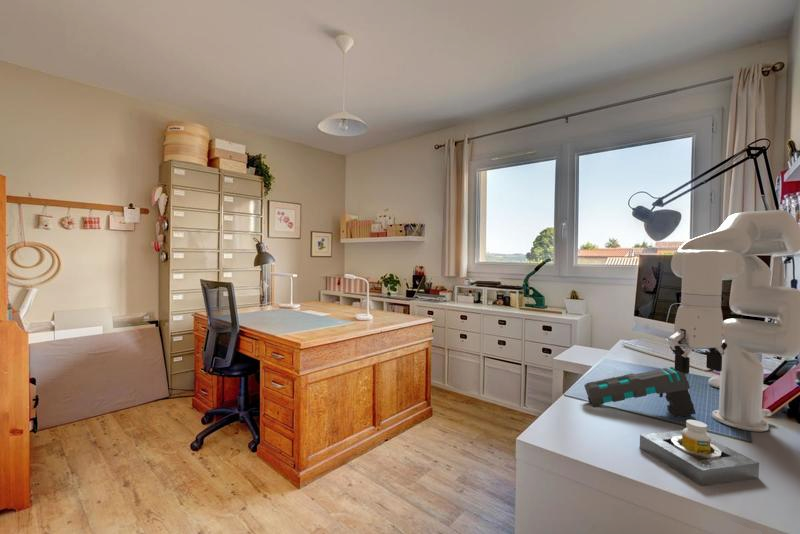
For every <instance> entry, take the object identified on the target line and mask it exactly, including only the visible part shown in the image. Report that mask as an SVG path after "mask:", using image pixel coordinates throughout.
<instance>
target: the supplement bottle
mask: <svg viewBox="0 0 800 534" xmlns="http://www.w3.org/2000/svg"><path fill="white" fill-rule="evenodd" d="M682 430H683V432H682V446H683V447H685V448H687V449H689V450H692V451H695V452H699V453H705V454H709V453H710V441H711V440H712V438H711V436H710V434H709V433H707V432H708V424H706V423H704V422H702V421H700V420H695V419H687V420H686V421H685V428H683V429H682Z"/></svg>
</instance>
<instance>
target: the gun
mask: <svg viewBox="0 0 800 534" xmlns="http://www.w3.org/2000/svg"><path fill="white" fill-rule="evenodd" d="M686 375H687V374H685V373H682V372H679V371H676V370H675V367H673V366H669V368H668V367H664V368H663V370H662V369H655V370H649V371H644V372H640V373H627V374H624V375H620V376H615V377H609V378H604V379H602V380H596V381H591V382H587V383H585V384H583V386H584V389H585V391H586V395H587V399H588V400H587V401H588V402H589V404H590V405H592V406H593V407H594V406H595V407H596V406H600V405H601V406H602V405H604V404H605V403H610V402H613V403H614V402H615V403H617V402H621V401H625V399H631V398H635V399H637V398H641V397H646V396H647V395H652V394H659V395H658V397H659V398H663V396H664V394H665V396H664V397H665V401H666V402H668V404H667V405H666V408H667V410H669V411H670V412H671V413H672V414H674V416H676V417H685V416H691V415H695V414H696V411H695V406H694V403H693V401H692V397H691V394H690V393H689V390H690V389H691V386H690V382H689V380H688V379H687V376H686Z"/></svg>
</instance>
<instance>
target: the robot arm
mask: <svg viewBox="0 0 800 534" xmlns="http://www.w3.org/2000/svg"><path fill="white" fill-rule="evenodd" d="M799 251H800V225H799V223H798V221H797V220H796V218H795V217H794V215H792V214H791V212H788V211H785V210H782V209H773V210H772V209H771V210H759V211H758V210H757V211H754V210H753V211H744V212H742V211H741V212H737V213H733V214H731V215H729V216H728V217H727V218H726V219H725V220H724V221H723V222H722V224H720V226H719V227H718V228H717V229H716V230H715V231H713V232H712V231H711V232H709V233H706V234H703V235H700V236H697V237H694V238H692V239H689V240H687V241H685V242H683V243H682V244H681V245H680V246H679V247H678V248H677V249H676V251H675V252H674V254H673V255H672V258H671V261H670V267H671V271H672V273H673V274H674V275H675V277H678V278H681V291H680V292H681V294H680V295H681V296H680V298H681V300H680V305H679V306H678V308H677V311H676V315H675V320H674V325H673V333H672V335H670V336H669V337H668V338H667V342H668V344H669V348H670V350H671V351H672V354H673V355H674V368H675V370H676V371H679V372H682V373H685V375H689V374H690V360H691V359H690V357H688V356H689V354H690V353H691V351H693V350H704V349H706V350H708V351H707V352H706V362H705V363H706V365H705V367H706V368H707V369H709V370H712V371H716V372H719V373H720V376H719V395H718V396H719V397H718V398H719V400H718V409H715V410H713V411H711V416H712V418H713V419H714V420H716V421H717V422H719V423H722V424H724V425H727V426H730V427H731V428H734V429H735V428H736V429H738V430H739V429H740V430H743V431H749V432H750V431H751V432H759V433H760V432H766V431H768V430H769V423H768V422H766V421H765V420H764V419H763V418H764V417H770V416H772V411H771V410H770V409H768V408H763V396H764V395H763V394H764V393H763V392H764V391H763V390H764V389H763V388H764V373H765V372H764V371H765V370H764V367H763V365H762V362H761V361H760V360H759V358H758V357H757V356H756V355H755V354H761V355H765V356H766V355H767V356H772V357H778V358H779V357H780V358H786V359H790V358H791V359H792V358H796V357H797V356H798V355H799V354H800V289H797V288H794V287H788V286H774V285H773V286H772V285H771V279H772V269H771V268H770V267H769V266H768V264H767V263H766V262H764V261H763V260H762V259H761V258H760V257H758V256H757V255H775V256H776V255H783V256H784V255H794V254H796V253H798V252H799ZM731 280H732V281H731ZM723 281H731V284H730V285H731V286H730V293H729V308H730V310H731V311H732V312H733V313H734V314H736V315H742V316H749V317H757V318H765V319H774V320H778V321H779V322H770V321H764V320H763V321H762V320H755V319H747V318H727V319H724V318H723V311H722V293H723ZM683 348H684V350H683Z"/></svg>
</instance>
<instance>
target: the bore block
mask: <svg viewBox="0 0 800 534" xmlns="http://www.w3.org/2000/svg"><path fill="white" fill-rule="evenodd" d="M682 432H683V429H680V430H673V431H672V430H671V431H670V430H669V431H663V432H661V431H660V432H654V433H653V432H651V433H642V434H640V435H639V448H640V449H641V450H643V452H644V451H645V452H646V453H648V454H649V455H651V456H653V457H654V458H655V459H657V460H659V461H660V462H662V463H664V464H665V465H667V466H668V467H670V468H672V469H674V470H675V471H677V472H678V473H679V474H681V475H683V476H685V477H687V478H688V479H690V480H691V481H692V482H694V483H696V484H697V485H699V486H701V487H703V486H711V485H718V484H725V483H733V482H738V481H745V480H752V479H759V476H760V475H759V473H760V462H759V461H756V460H755V459H752V458H750V457H748V456H746V455H745V454H742V453H740V452H738V451H736V450H734V449H732V448H729V447H728V446H725V445H723V444H721V443H719V442H716V440H713V439H711V441H710V453H709V454H705V453H699V452H695V451H692V450H689V449H687V448H685V447H683V446H682Z"/></svg>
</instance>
